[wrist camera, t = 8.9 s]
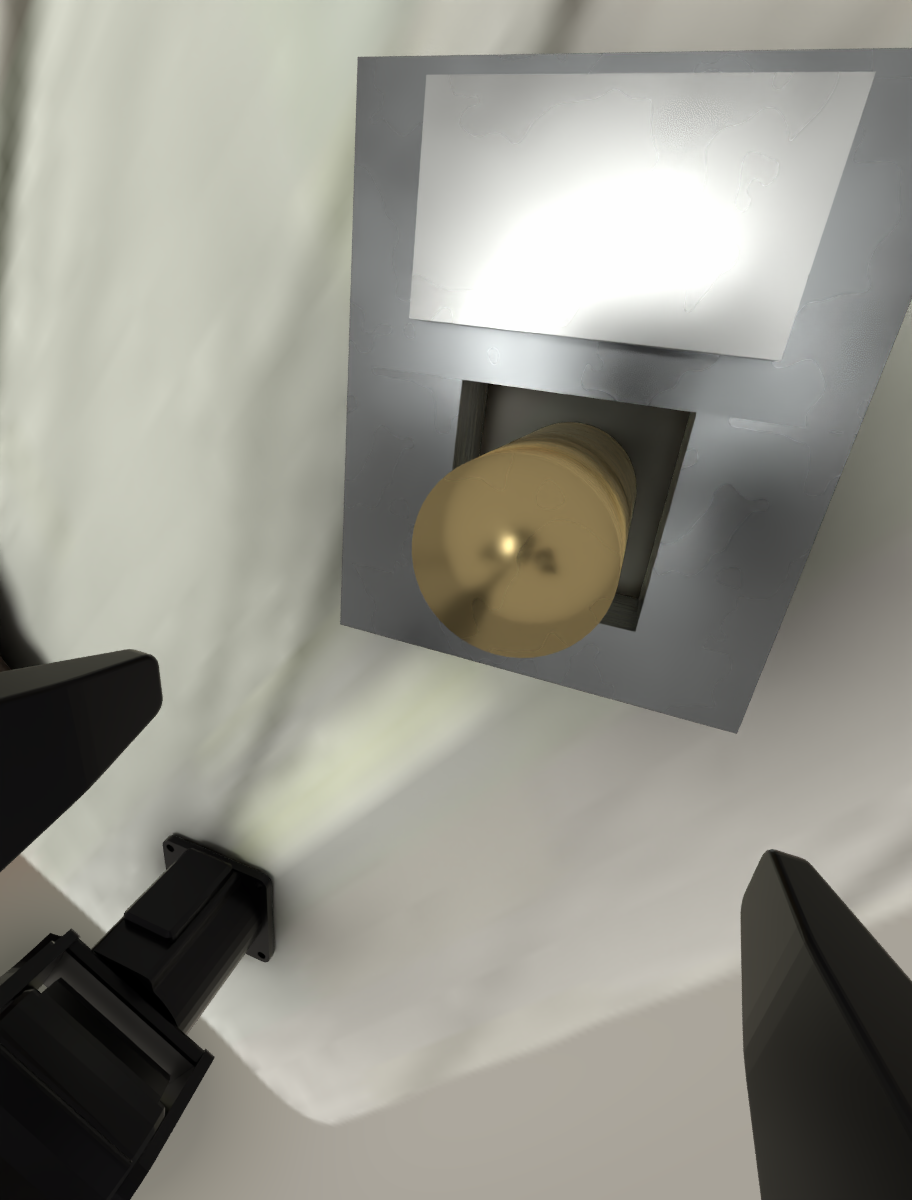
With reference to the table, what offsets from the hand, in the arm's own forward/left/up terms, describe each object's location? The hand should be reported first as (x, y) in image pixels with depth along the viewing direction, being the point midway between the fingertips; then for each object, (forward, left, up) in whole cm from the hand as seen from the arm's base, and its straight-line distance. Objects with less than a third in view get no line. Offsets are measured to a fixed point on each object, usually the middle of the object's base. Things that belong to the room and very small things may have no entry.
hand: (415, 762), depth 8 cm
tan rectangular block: (+2, 0, -11) cm, 11 cm away
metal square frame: (+4, 0, -11) cm, 11 cm away
